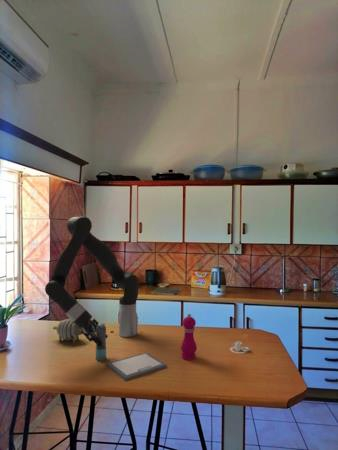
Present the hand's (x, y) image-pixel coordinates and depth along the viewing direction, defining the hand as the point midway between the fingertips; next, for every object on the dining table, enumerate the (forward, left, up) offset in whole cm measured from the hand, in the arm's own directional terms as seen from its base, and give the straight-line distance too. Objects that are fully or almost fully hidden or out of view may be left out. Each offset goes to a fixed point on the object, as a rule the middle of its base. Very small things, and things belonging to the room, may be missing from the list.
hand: (103, 341), depth 143 cm
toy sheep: (+5, -31, -8) cm, 32 cm away
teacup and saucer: (-56, +32, -8) cm, 65 cm away
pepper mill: (-32, +21, -8) cm, 39 cm away
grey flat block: (-8, +15, -8) cm, 19 cm away
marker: (+1, -1, -8) cm, 8 cm away
